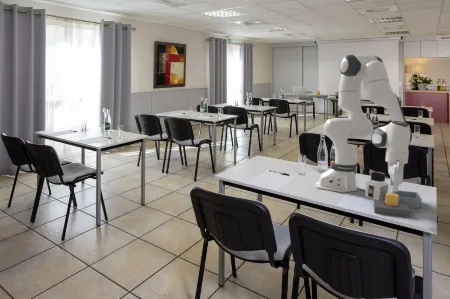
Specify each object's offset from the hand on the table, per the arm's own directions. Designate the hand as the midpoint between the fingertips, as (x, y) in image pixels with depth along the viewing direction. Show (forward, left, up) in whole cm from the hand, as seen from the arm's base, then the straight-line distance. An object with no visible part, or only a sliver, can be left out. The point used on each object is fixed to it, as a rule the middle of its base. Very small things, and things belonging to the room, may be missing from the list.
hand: (393, 188), depth 152 cm
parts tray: (+8, +15, -11) cm, 20 cm away
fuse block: (0, +1, -11) cm, 11 cm away
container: (-5, +19, -11) cm, 22 cm away
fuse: (0, +1, -11) cm, 11 cm away
